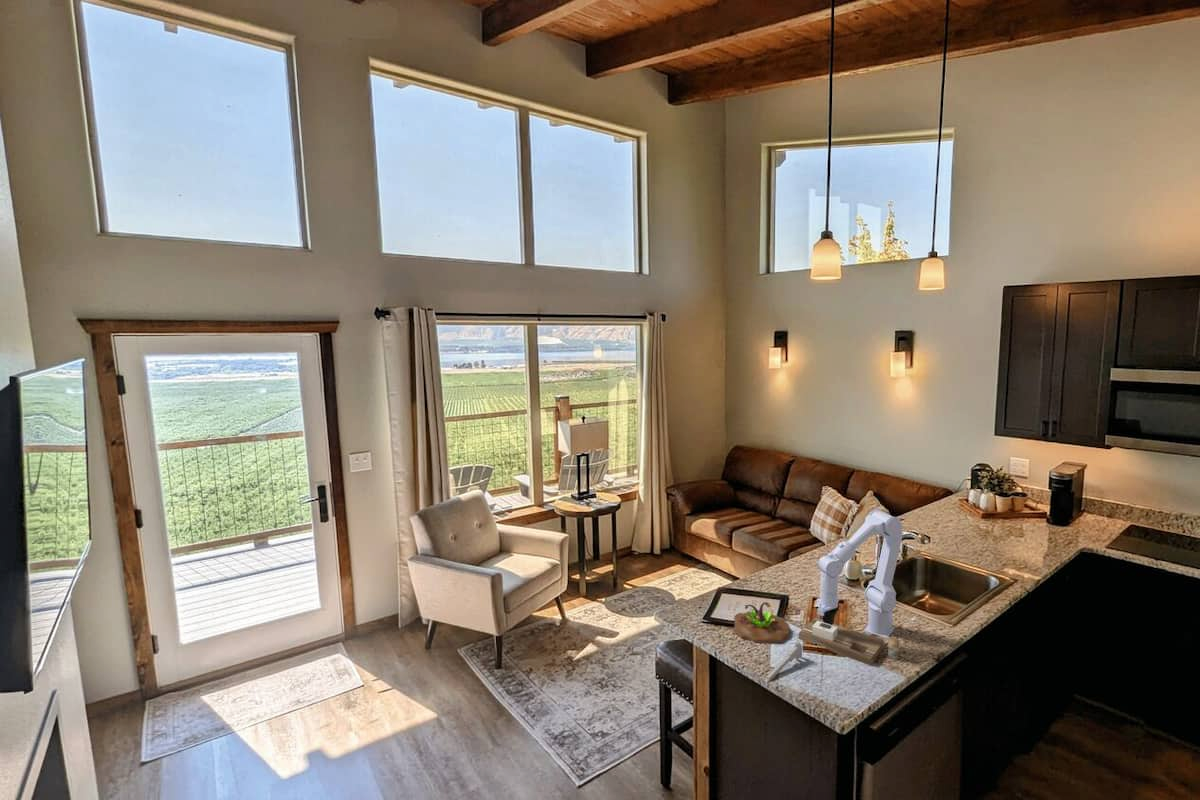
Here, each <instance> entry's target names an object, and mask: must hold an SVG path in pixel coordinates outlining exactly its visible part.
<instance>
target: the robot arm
mask: <svg viewBox="0 0 1200 800" xmlns="http://www.w3.org/2000/svg"><path fill="white" fill-rule="evenodd" d="M903 527H904V523H902V521H901V520H900V519H899V518H898V517H897V516H892V515H891V514H888V513H886V512H884V511H882V510H881V509H876V508H875V509H873V510H871V511H870V513H869V514H868V515H866V516H865V520H864V523H863V524H862V525H861V526H860V527H859V528H858V529H857V531H856V532H855V533H853V534H852V536H851V537H850V538H849V539H848V540H846V541H845V540H844V541H841V542H839V543H838V544H837V546H836V547H835V548H834V549H833V550H831V552H829V553H828V554H827V555H826V554H825V555H823V556H821V557H820V558H819V560H818V562H817V563H816V566H817V568H818V570H819V574H820V586H819V587H820V588H819V589H820V590H819V597H818V598H816V602H817V603H818V608H817V615H818V616H821V618H822V620H823V622H824V623H827V624H830V625H832V624H834V619H835V617H836V614H837V613H838V611H839V607H838V606H839V602H840V595H839V593H838V592H839V576H840V575H841V574H842V572H843V569H844V567H845V565H846V564H847V563H848V562H849V561H850V560H851V559H852V558H853V557H854V556H855V555H856V551H857V548H858V547H859V546H861V545H862V544H863V543H865V542H866V541H867V540H868V539H869V538H870V537H872V536H874V535H876V536H882V537H883V542H882V547H881V552H880V555H879V559H878V564H877V569H876V573H875V578H874V579H872V580H870V581H868V585H867V587H866V588H865V590H864V592H863V593H864V598H865V599H866V600H867V605H868V613H867V615H868V617H867V625H866V626H865V628H864V629H863V631H864V632H867V633H871V634H873V635H874V634H875V635H876V636H880V637H883V638H886V639H887V638H888V637H889V638H890V635H891V634H892V632H893V631H894V630H895V629H896V627H895V626H893V616H894V615H893V612H894V609H895V608H896V606H897V599H896V597H897V596H896V595H897V592H896V590H895V588H894V586H893V580H894V575H895V572H896V568H897V564H898V563H897V562H898V560H899V559H898V558H899V554H900V549H901V545H902V540H903V532H902V531H903ZM889 638H888V639H889Z"/></svg>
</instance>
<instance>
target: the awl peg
mask: <svg viewBox="0 0 1200 800" xmlns="http://www.w3.org/2000/svg"><path fill="white" fill-rule="evenodd" d="M887 643H888V645H887V657H888V658H889V659H890V660H893V661H898V660H899V657H900V656H899V655H900V653H899V652H900V639H898V638H896V637H889V638H888V642H887Z"/></svg>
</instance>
